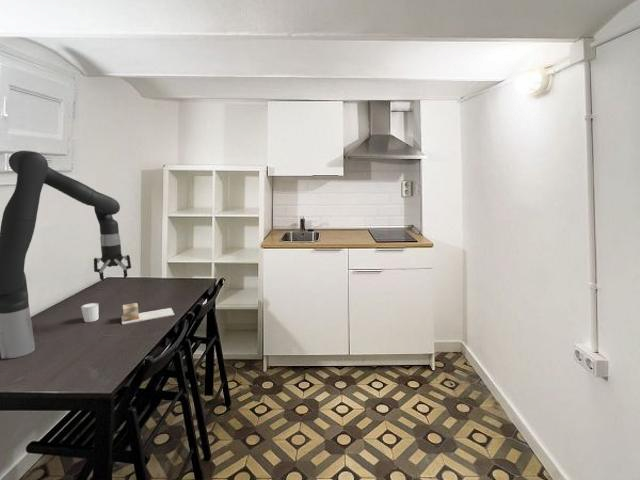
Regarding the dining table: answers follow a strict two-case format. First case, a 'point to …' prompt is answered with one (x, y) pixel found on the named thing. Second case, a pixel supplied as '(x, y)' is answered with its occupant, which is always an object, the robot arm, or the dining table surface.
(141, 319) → the mat
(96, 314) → the white cup
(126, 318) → the maple cube
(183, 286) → the dining table surface
